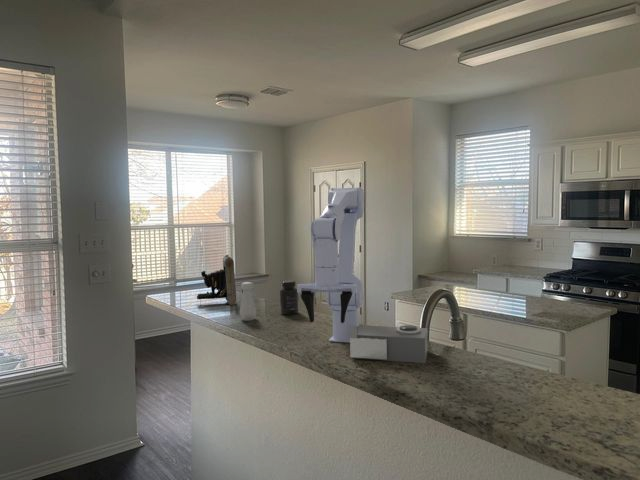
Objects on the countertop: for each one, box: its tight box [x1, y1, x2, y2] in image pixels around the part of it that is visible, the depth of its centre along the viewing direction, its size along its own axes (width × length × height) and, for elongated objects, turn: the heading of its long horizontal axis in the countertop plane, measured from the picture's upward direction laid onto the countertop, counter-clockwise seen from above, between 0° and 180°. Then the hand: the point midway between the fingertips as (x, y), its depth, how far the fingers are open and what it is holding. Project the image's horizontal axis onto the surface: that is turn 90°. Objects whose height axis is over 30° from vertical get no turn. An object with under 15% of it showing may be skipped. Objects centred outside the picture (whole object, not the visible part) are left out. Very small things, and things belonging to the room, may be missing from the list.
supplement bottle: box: [279, 279, 300, 316], centre depth 170 cm, size 7×7×12 cm
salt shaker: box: [239, 281, 257, 322], centre depth 161 cm, size 6×6×13 cm
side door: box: [349, 325, 387, 361], centre depth 113 cm, size 1×9×8 cm, turn 74°
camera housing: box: [351, 324, 429, 364], centre depth 118 cm, size 10×18×7 cm, turn 74°
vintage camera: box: [196, 254, 237, 306], centre depth 190 cm, size 10×16×20 cm, turn 107°
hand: (327, 321), depth 114 cm, fingers open, 7 cm apart
